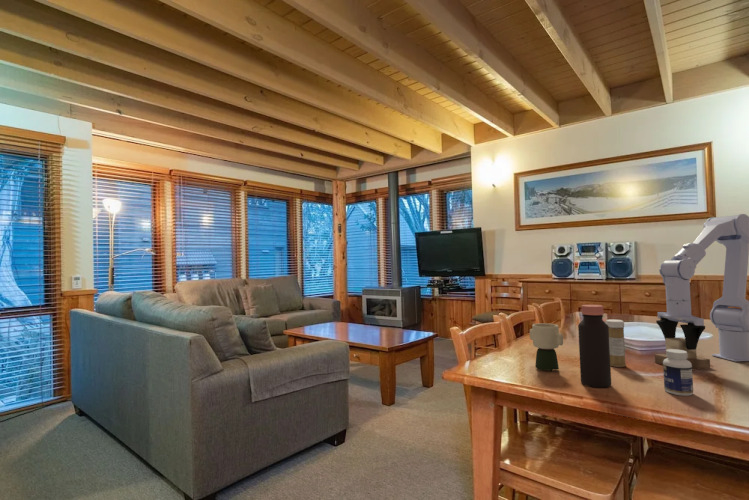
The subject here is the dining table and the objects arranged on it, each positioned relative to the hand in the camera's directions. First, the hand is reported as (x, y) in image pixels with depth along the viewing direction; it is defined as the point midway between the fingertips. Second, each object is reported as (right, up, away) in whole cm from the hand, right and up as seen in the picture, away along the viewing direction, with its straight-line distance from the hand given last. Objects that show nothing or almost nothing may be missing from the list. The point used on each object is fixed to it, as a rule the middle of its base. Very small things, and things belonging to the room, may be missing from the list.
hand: (680, 346), depth 114 cm
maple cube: (0, -3, 0) cm, 3 cm away
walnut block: (0, -6, 0) cm, 6 cm away
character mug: (-40, -7, -1) cm, 40 cm away
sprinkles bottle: (-18, -6, +1) cm, 19 cm away
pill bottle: (-18, -5, -23) cm, 30 cm away
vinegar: (-34, -6, -15) cm, 37 cm away
